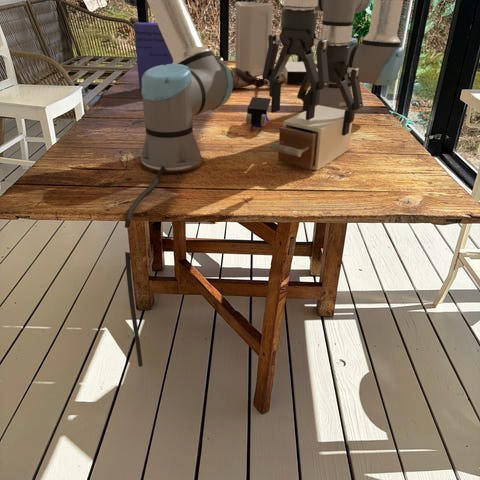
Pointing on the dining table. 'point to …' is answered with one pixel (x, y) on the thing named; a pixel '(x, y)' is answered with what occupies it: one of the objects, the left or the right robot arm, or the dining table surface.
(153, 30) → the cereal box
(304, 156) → the drawer
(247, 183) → the dining table surface
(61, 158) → the dining table surface
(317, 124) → the cabinet
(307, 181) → the dining table surface
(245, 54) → the tall white carton
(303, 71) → the disc drive
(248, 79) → the figurine
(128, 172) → the dining table surface
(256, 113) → the figurine character
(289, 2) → the left robot arm
